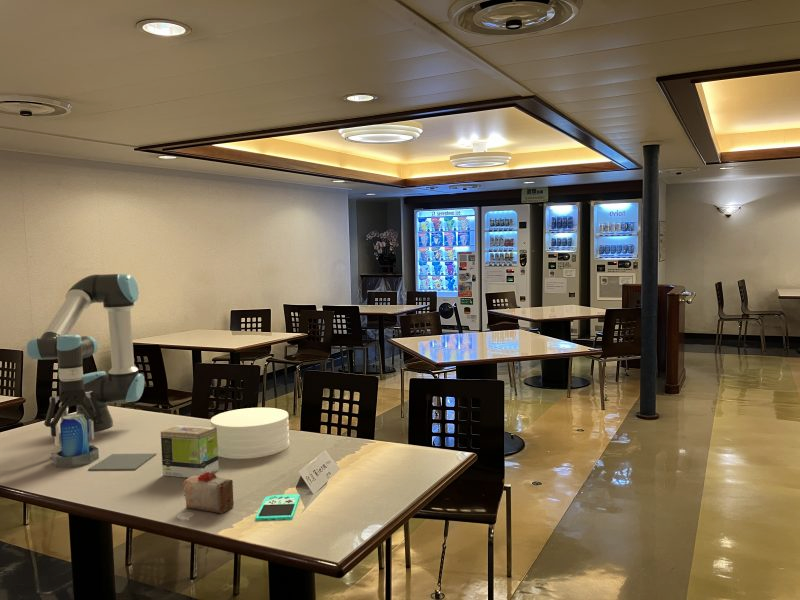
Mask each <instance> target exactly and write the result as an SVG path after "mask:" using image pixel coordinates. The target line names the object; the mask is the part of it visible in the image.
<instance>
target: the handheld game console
mask: <svg viewBox="0 0 800 600" xmlns="http://www.w3.org/2000/svg"><path fill="white" fill-rule="evenodd" d="M300 496H301V495H300V493H297V494H296V493H294V494H292V493H291V494H273V495H267V496H266V497H264V499H263V501H262V503H261V504H260V508H259V510H258V512H257V514H256V515H255V521H281V520H293V518H294V516H295V512H296V509H297V507H298V503H299V500H300Z"/></svg>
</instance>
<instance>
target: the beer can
mask: <svg viewBox="0 0 800 600" xmlns="http://www.w3.org/2000/svg"><path fill="white" fill-rule="evenodd" d="M59 427H60V428H59V429H60V430H59V433H60V444H61V445H60V447H61V449H62V456H76V455H81V454H85V453H88V452H89V432H88V425H87V420H86V418H85V417H84V415H83V414H76V413H74V414H68V415H67V416H64V417H63V420H62V422H60V424H59Z"/></svg>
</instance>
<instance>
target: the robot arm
mask: <svg viewBox="0 0 800 600" xmlns="http://www.w3.org/2000/svg"><path fill="white" fill-rule="evenodd" d="M139 292H140V291H139V286H138V282H137V281H136V279H135V277H134V276H133V275H131V274H129V273H127V274H126V273H112V274H91V275H88V276H85V277H84V278H81V279H80V280H78V281H77V282H76V283H74V284H73V285H72V286H71V287H70V288H69V290H68V291H67V292H66V294H65V297H64V298H65V300H64V302H63V303H62V305H61V306H60V308H59V310H57V312H56V314H55V316H54V317H53V318H52V320H51V321H50V323H49V324H48V326H47V328H46V329H45V330H44V331H43V334H42V335H41V336H40V337H39V338H38V337H36V338H31V339H30V340H29V341H28V342H27V345H26V354H27V355H28V357H29V358H30V359H31V360H56V359H57V365H58V366H57V370H58V371H57V372H58V380H59V382H58V386H59V388H58V389H59V394H58V396H50V397H48V398H49V405H48V409H47V413H46V416H45V419H44V423H43V424H44V425H43V426H45V427H47V428H48V427H49V428H50V436H51V437H54V445H55V446H56V447H60V435H59V434H60V430H59V429H60V428H59V426H58V424H59V422H60V421H61V416H62V414H63V413H64V411H65V409H66V408H67V406H68V408H70V407H73V406H76V413H75V414H83V415H84V417H85V418H86V420H87V425H88V437H89V439H90V440H95V432H98V431H102V430H106V429H109V428H111V427H113V426H114V422H113V421H114V420H113V417H112V414H111V413H110V410H109V407H108V403H130V402H137V401H139V400H140V399H141V397H142V396H143V393H144V389H145V377H144V375H143V374H142V373H139V368H138V367H137V366H136V365H135V358H134V344H133V342H134V341H133V331H132V329H133V328H132V327H133V326H132V314H131V310H132V308H133V307H134V306H135V302H137V301H138V299H139ZM95 303H100V304H101V303H103V308H104V309H105V311H107V317H108V331H109V345H110V358H111V361H110V362H111V368H110V369H109V370H108V373H107V372H106V371H105V370H101V371H94V372H93V371H92V372H89V373H85V374H84V369H83V359H85V358H90V357H91V356H92V355H94V354H96V352H98V348H99V343H98V341H97V339H95V338H94V337H93V336H90V335H86V336H81V335H80V334H77V333H76V334H75V333H74V334H70V333H71V331H72V330H73V328H74V327H75V325H76V323H77V322H78V320H79V318H80V317H81V315H82V313H83V312H84V310H86V309H87V308H89V307H90V306H91V305H92V304H95ZM58 401H60V403H61V402H62V403H61V405H60V407H59V408H58V410H57V412H56V414H55V415H54V413H55V409H56V404H57V403H58ZM53 416H54V417H53Z"/></svg>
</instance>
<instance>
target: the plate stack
mask: <svg viewBox="0 0 800 600" xmlns="http://www.w3.org/2000/svg"><path fill="white" fill-rule="evenodd" d="M289 416H290V415H289V412H288V411H286V410H284V409H280V408H273V407H250V408H249V407H247V408H240V409H232V410H228V411H224V412H221V413H218V414H216V415H214V416H212V417H211V418H210V426H214V427H217V445H218V458H219V457H220V458H226V459H232V460H233V459H235V460H238V459H239V460H242V459H243V460H245V459H256V458H262V457H267V456H271V455H274V454H279V453H280V452H282V451H284V450H286V449H287V448H288V447H289V446H290V440H289V439H290V433H289V432H290V426H289V424H290V422H289Z"/></svg>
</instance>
